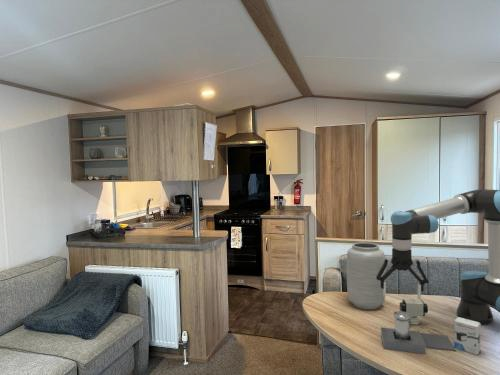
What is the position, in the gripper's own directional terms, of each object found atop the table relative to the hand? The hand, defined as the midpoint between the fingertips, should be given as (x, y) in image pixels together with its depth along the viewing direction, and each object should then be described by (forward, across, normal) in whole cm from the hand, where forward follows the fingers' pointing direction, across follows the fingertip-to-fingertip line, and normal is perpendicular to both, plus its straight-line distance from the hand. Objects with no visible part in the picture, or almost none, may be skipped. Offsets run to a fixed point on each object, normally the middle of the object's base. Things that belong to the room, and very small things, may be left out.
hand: (401, 297), depth 141 cm
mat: (+20, -14, -5) cm, 25 cm away
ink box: (+21, -25, -2) cm, 33 cm away
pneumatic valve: (+21, -8, -22) cm, 31 cm away
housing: (+20, 0, 0) cm, 21 cm away
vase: (+21, +13, -40) cm, 47 cm away
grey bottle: (+20, 0, 0) cm, 21 cm away
